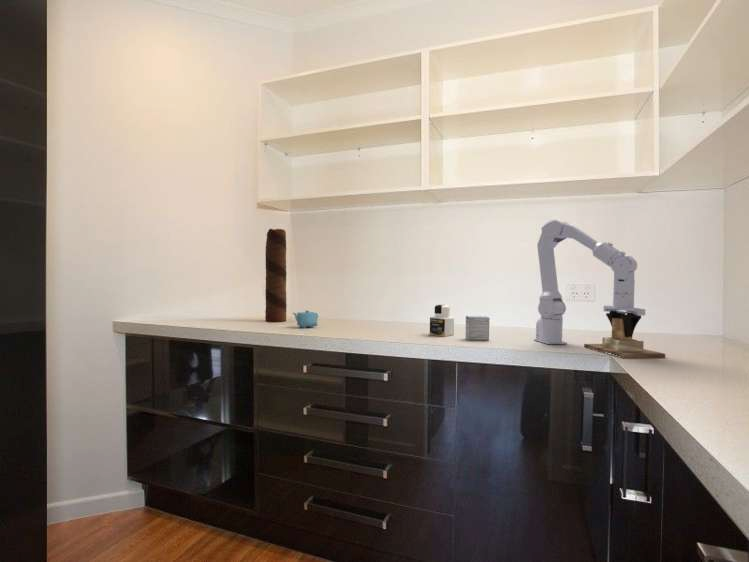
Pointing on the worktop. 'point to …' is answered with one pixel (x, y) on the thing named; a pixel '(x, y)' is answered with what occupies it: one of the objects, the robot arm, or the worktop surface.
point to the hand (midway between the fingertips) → (622, 335)
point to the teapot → (306, 319)
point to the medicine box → (477, 328)
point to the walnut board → (625, 348)
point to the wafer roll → (276, 276)
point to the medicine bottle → (442, 322)
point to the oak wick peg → (619, 330)
